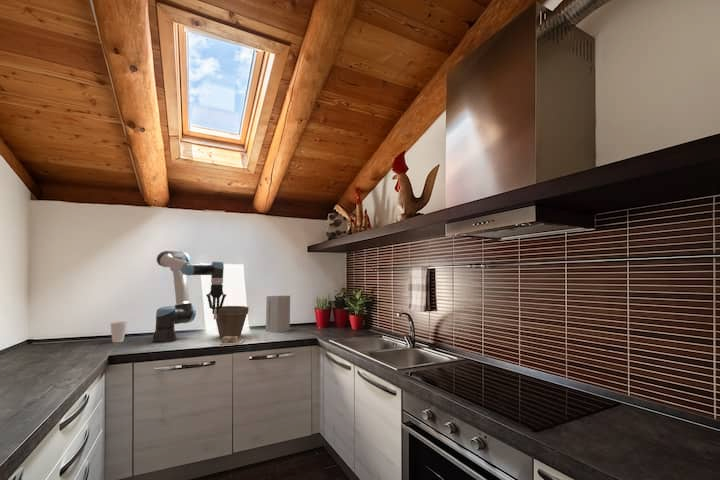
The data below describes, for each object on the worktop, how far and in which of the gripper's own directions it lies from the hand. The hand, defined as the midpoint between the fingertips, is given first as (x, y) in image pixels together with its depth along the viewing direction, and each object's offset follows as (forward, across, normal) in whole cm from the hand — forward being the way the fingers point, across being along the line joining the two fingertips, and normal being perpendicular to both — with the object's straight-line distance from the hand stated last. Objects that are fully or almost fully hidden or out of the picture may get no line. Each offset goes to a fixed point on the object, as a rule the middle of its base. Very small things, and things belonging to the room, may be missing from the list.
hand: (215, 318), depth 249 cm
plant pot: (+17, +5, +25) cm, 30 cm away
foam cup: (+18, -68, +14) cm, 72 cm away
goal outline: (+16, +12, 0) cm, 20 cm away
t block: (+16, +11, 0) cm, 19 cm away
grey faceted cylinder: (+16, +38, +46) cm, 62 cm away
